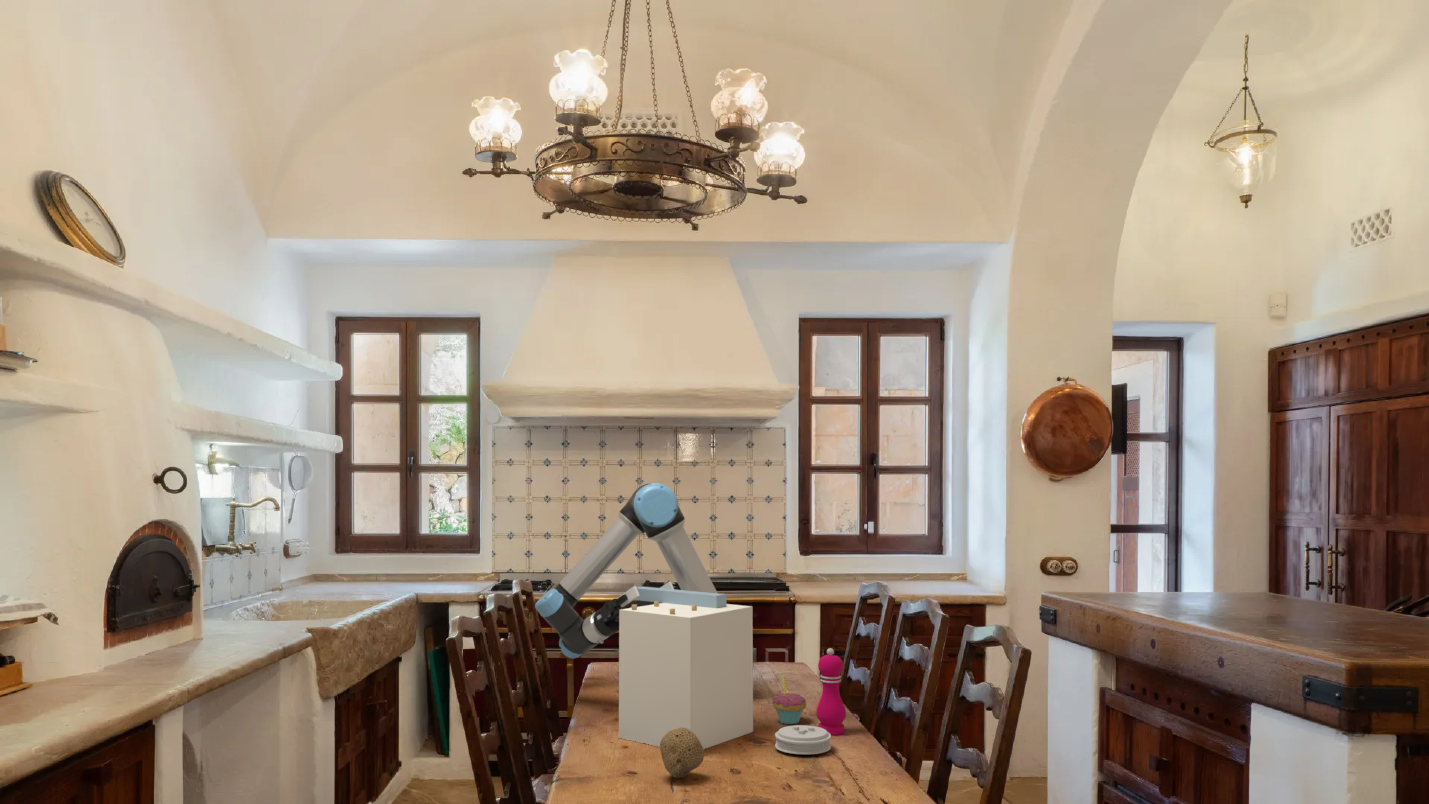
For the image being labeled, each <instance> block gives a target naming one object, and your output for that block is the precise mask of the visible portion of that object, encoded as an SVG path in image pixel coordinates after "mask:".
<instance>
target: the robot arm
mask: <svg viewBox="0 0 1429 804" xmlns="http://www.w3.org/2000/svg"><path fill="white" fill-rule="evenodd" d="M685 521H686V517H685V516H684V514H683V513H682V510H681V508H680V505H679V501H678V498H677V496H676V494H675V492H674V491H673V490H672V489H671V488H670V487H668V486H667V485H665V484H662V483H657V482H655V483H654V482H653V483H650V482H649V483H645V484H643V485H641V486H638V488H637V489H635V490H634V492H633V494H632V495H631V496H630V498H629V500H628V501H627V502H626V503H625V505H623V507H622V508H621V509H620V510H619V511H618V518H616V520H615V521H614V522H613V523H612V524H611V525H610V527H608V528H607V530H606V531H605V532H604V533H603V534H602V535H601V536H600V537H599V538H598V540H597V541H596V542H595V543H593V545H592V547H590V549H589V550H588V551H587V552H586V553H585V554H583V555H584V556H582V558H581V559H579V560H578V562H577V563H576V564H575V565H574V566H573V567H572V569H571V570H570V571H569V572H568V573H567V574H566V575H565V576H564V577H563V578H562V579H561V581H560V582H559V583H558V584H557V585H556V586H555V587H554V588H551V589H550V590H548V591H547V592H546V593H543V595H542V596H541V597H540V598H539V599H538V600H537V601H536V602H535V605H534V607H535V610H537V612H538V613H539V615H540V616H541V617H542V618H543V619H544V620H545V621H546V622H547V623H548V625H550V626H551V628H552V629H553V630H554V631H555V632H556V633H557V634H558V636H559V641H558V646H559V648H560V652H561V653H562V655H564V656H566V657H567V658H569V659H577V658H579V657H581V656H583V655H585V654H587V653H588V652H589V651H591V650H592V649H593V648H595V647H596V646H598V645H599V644H604V641H605V640H606V639H608V638H609V637H611V636H612V635H615V634H616V633H618V632H619V610H621V609H627V608H632V605H633V604H636V605H637V607H640V606H647V605H653V604H654V602H650V601H640V600H634V599H636V598H637V597H639V596H640V595H639V593H638V590H637V588H636V587H637V585H633V586H632V587H630V588H629V589H627V590H626V591H625V592H623V593H622V594H621V595H619V596H618V597H617V598H613V599H612V600H606V601H605V602H604V604H603V605H602V607H601V608H600V609H598V610H596V611H595V612H593V613H592V614H590V615H589V616H588V617H586V618H584V619H583V618H582V617H581V616H580V615H579V613H578V612H577V611H576V610H575V609H574V607H575V606H576V604H577V603H578V602H579V601H580V600H581V598H583V596H584V595H585V594H586V593H587V592H588V591H589V590H590V589H591V588H592V586H593V585H594V584H595V583H596V582H597V581H598V580H599V578H601V577H602V575H603V574H604V573H605V572H606V571H607V569H609V567H610V566H611V565H612V564H614V562H615V561H616V560H617V559H618V558H619V556H620V555H621V554H622V553H623V552H624V551H625V550H626V549H627V547H629V546H630V544H632V542H633V541H634V540H635V539H636V538H637V537H638V536H643V535H644V534H646V536H647V539H648V540H652V541H654V542H656V545H657V546H658V548H659V549H660V551H661V553H662V556H663V557H664V559H665V561H666V563H667V566H668V568H669V569H670V571H671V572H672V575H673V577H674V579H675V580H676V582H677V584H678V586H679V589H680V590H686V591H697V592H708V593H718V591H717V589H716V587H715V585H714V584H713V581H712V580H711V578H710V576H709V574H708V571H706V568H705V565H704V564H703V562H702V560H701V558H700V557H699V555H698V553H697V551H696V548H695V547H694V545H693V543H692V542H691V541H692V540H691V539H690V538H689V535H688V533H687V531H686V530H685V527H684V526H685ZM659 588H664V589H675V588H674V585H673V583H672V581H670V580H669V581H668V582H666V583H665V584H663V585H662V586H660V587H659ZM659 603H660V602H659Z"/></svg>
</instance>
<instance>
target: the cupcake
mask: <svg viewBox="0 0 1429 804" xmlns="http://www.w3.org/2000/svg"><path fill="white" fill-rule="evenodd" d="M781 681H782V686H783V692H782V693H780V694H778V695H777V696H775V697H774V698H773V700H772V702H771V703H772V706H773V708H774V710H775V711H776V713H777V715H778V719H779V722H780V723H781V724H783V723H784V725H797V724H798V723H799V722H800V719H801V716H802V713H803V711H804V710H805V709H806V708H807V701H806V699H805V697H803V696H802V695H800V694H798V693H794V692H787V685H786V679H785V675H784V673H783V672H781Z"/></svg>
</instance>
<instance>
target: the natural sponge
mask: <svg viewBox="0 0 1429 804" xmlns="http://www.w3.org/2000/svg"><path fill="white" fill-rule="evenodd" d="M659 748H660V750H659V751H660V755H661V759H662V763H663V765H664V768H665V770H666V771H667V772H668V773H669V774H670V775H671V776H672V777H673V778H675V779H682V778H685V777H686V776H687V775H688V774H689V773H690V772H691V771H694V770H695V769H697V768H698V767H700V766H701V765H702V763H703V762H704V758H705V749H703V747H702V745H701V743H700V741H699V739H698V738H697V736H696V735H695V734H694V733H693V732H692V731H690V730H689V729H686V728H682V727H680V728H678V729H673V730H671V731H669V732H667V733H666V734H665V735H664V737H663V738H662V740H661V743H660V747H659Z"/></svg>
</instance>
